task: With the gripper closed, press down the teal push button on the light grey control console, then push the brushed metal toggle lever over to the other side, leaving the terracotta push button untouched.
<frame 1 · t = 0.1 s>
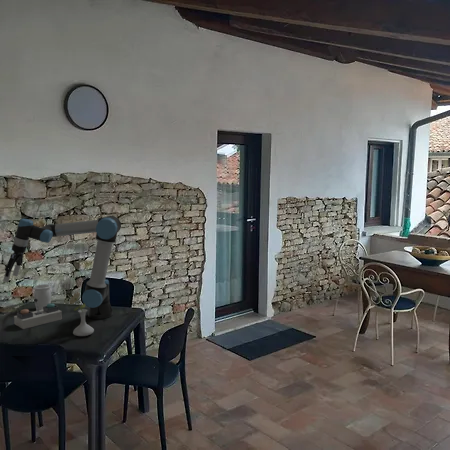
hand: (10, 278, 278), 28 cm above the table, tool tilted 20°, fingers open, 13 cm apart
toggle lever: (36, 305, 285), point 10 cm above the table, hinge at 20.0°
teal button: (50, 305, 290), point 8 cm above the table, slide at 0.0 cm
console: (38, 321, 285), on the table
flower in vase: (82, 335, 264), on the table
jar: (43, 308, 311), on the table
terracotta button: (24, 311, 279), point 8 cm above the table, slide at 0.0 cm
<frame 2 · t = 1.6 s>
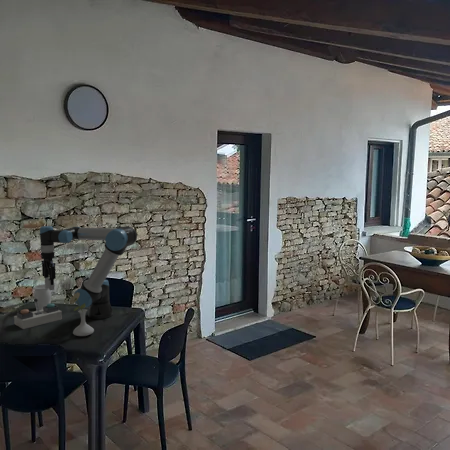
hand: (49, 288, 289), 19 cm above the table, tool pointing down, fingers open, 5 cm apart
nothing on the table moved.
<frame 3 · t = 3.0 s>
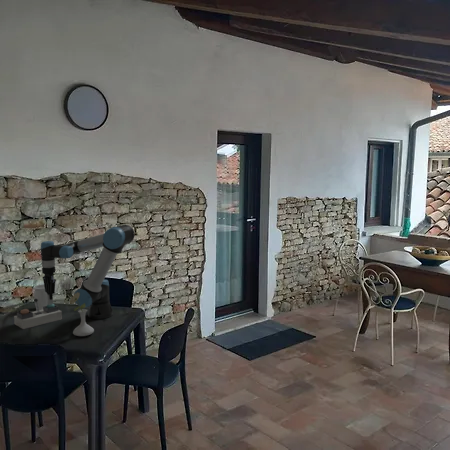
hand: (50, 304, 290), 9 cm above the table, tool pointing down, fingers closed
teal button: (50, 306, 290), point 8 cm above the table, slide at 0.1 cm, touching gripper
everything else where it was.
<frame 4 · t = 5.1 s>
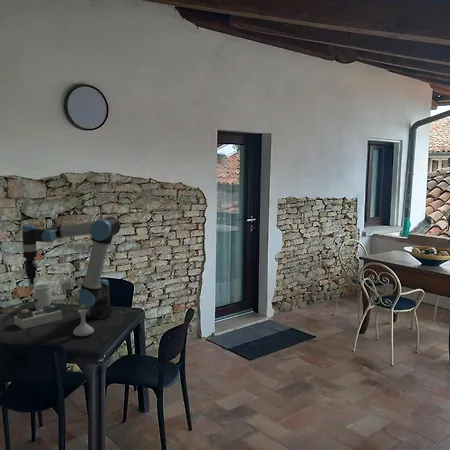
hand: (31, 288, 289), 19 cm above the table, tool pointing down, fingers closed
teal button: (50, 307, 290), point 7 cm above the table, slide at 1.2 cm
everything else where it was.
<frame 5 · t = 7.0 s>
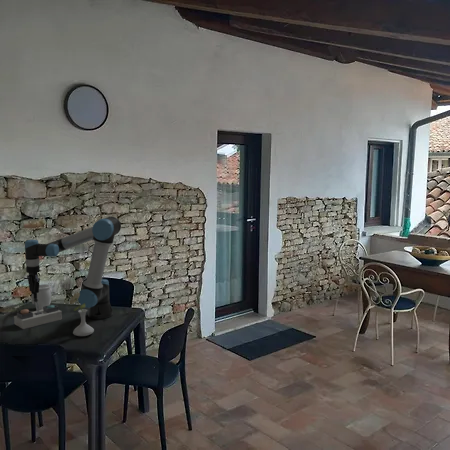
hand: (34, 303, 287), 11 cm above the table, tool pointing down, fingers closed
toggle lever: (36, 305, 285), point 10 cm above the table, hinge at 17.1°, touching gripper
everything else where it was.
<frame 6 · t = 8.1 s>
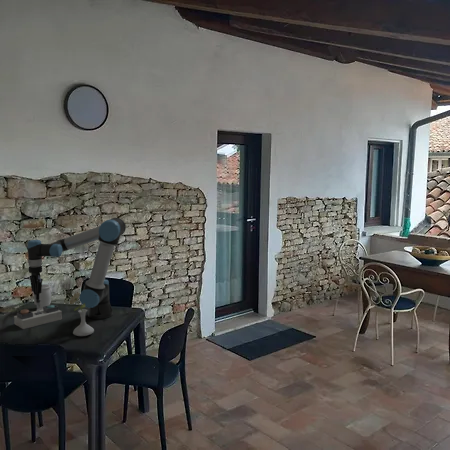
hand: (37, 303, 284), 11 cm above the table, tool pointing down, fingers closed
toggle lever: (38, 305, 284), point 10 cm above the table, hinge at -7.8°, touching gripper
everything else where it was.
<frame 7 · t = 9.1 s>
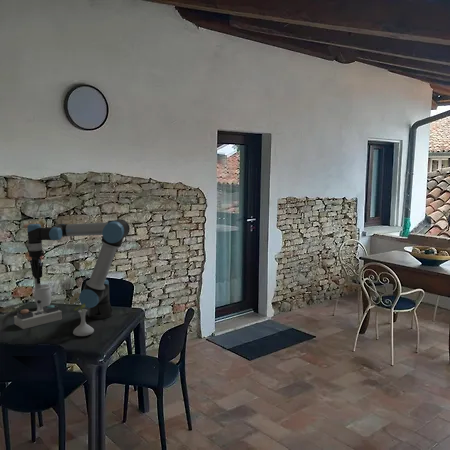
hand: (38, 288, 283), 20 cm above the table, tool pointing down, fingers closed
toggle lever: (38, 305, 283), point 10 cm above the table, hinge at -16.7°
everything else where it was.
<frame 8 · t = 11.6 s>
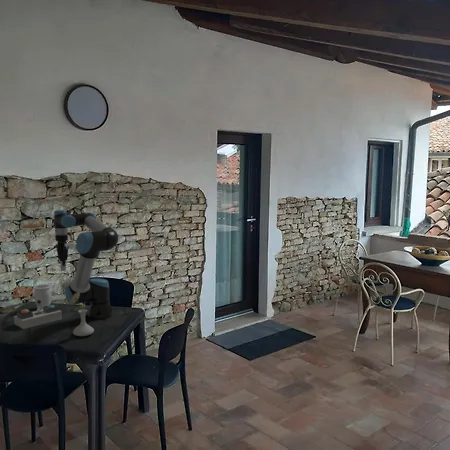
hand: (63, 270, 304), 26 cm above the table, tool pointing down, fingers closed
nothing on the table moved.
at the end: teal button slide at 1.2 cm; toggle lever at -17° (first picture: +20°); terracotta button slide at 0.0 cm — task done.
